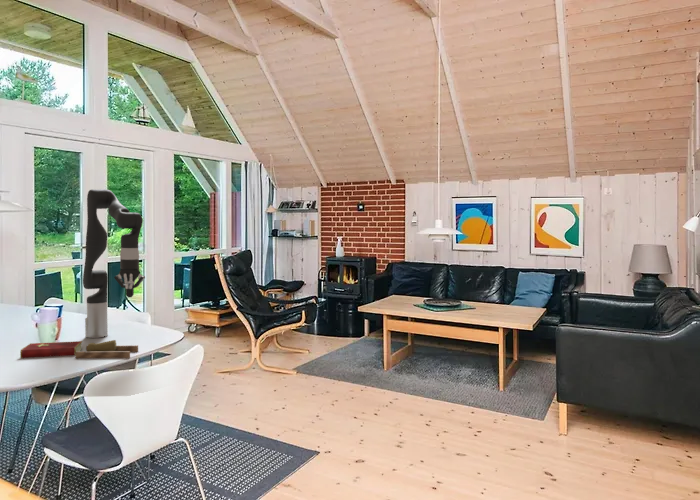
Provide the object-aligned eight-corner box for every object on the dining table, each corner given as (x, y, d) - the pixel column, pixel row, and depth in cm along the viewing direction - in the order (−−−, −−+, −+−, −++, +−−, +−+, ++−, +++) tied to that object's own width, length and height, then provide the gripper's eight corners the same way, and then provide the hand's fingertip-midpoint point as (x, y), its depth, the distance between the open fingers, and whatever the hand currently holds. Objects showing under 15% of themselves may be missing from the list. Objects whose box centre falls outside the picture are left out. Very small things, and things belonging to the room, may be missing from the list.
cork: (116, 355, 223) (89, 357, 221) (116, 341, 225) (89, 343, 223) (113, 352, 218) (85, 354, 215) (113, 338, 220) (86, 340, 217)
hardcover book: (75, 356, 218) (75, 346, 218) (20, 359, 213) (20, 349, 212) (82, 349, 230) (82, 340, 229) (30, 352, 224) (30, 342, 224)
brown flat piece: (75, 358, 214) (75, 352, 214) (87, 351, 225) (87, 345, 225) (129, 357, 215) (129, 351, 215) (138, 350, 227) (138, 345, 227)
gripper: (110, 258, 218) (111, 298, 219) (142, 259, 219) (142, 298, 220) (117, 257, 225) (117, 295, 226) (147, 257, 226) (148, 296, 227)
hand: (129, 297), depth 223 cm, fingers closed
